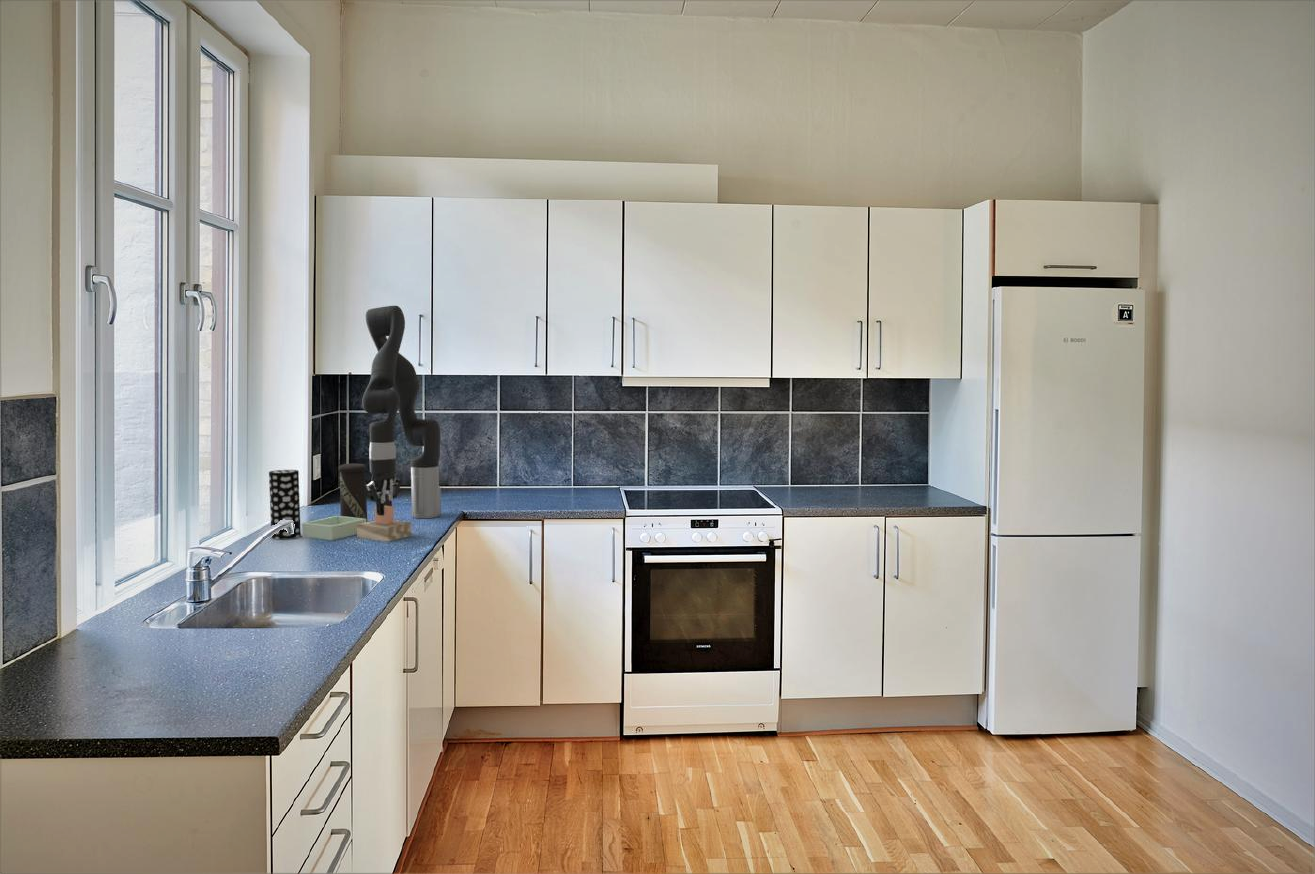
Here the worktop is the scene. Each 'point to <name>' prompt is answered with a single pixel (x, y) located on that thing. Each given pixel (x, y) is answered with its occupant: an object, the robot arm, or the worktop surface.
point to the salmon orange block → (385, 515)
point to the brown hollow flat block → (384, 530)
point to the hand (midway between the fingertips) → (384, 514)
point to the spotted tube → (285, 500)
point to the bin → (331, 527)
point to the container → (353, 490)
